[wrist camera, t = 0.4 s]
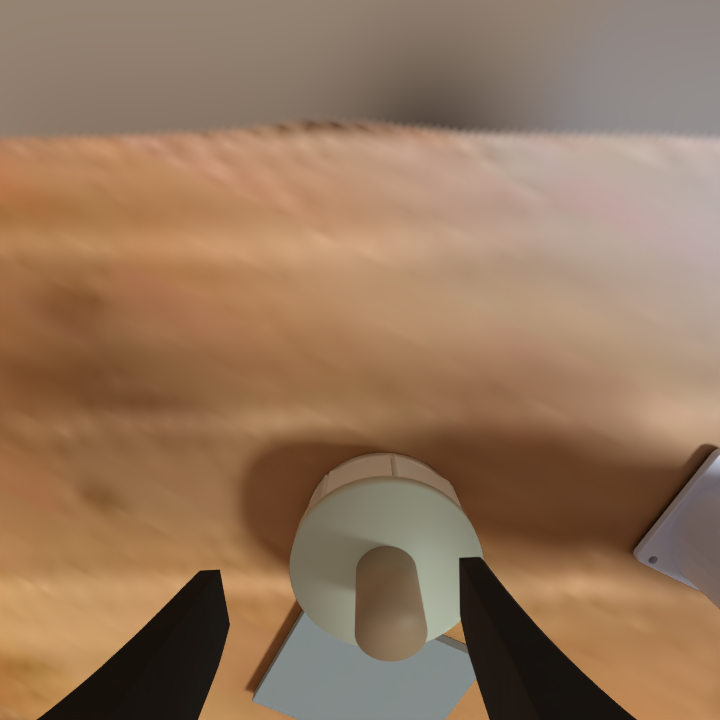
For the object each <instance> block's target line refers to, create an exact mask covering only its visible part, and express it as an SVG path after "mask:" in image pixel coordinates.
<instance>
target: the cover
mask: <svg viewBox="0 0 720 720" xmlns="http://www.w3.org/2000/svg"><path fill="white" fill-rule="evenodd" d="M463 557H481V558H482V559H483V560H484V558H483V553H482V548H481V545H480V542H479V540H478V537H477V535H476V532H475V530H474V528H473V525H472V524H471V522H470V520H469V518H468V516H467V515H466V514H465V512H464V511H463V510H462V508H461V507H460V506H459V505H458V504H457V503H456V502H455V501H454V500H453V499H452V498H450V497H449V496H448V495H446V494H445V493H443V492H442V491H440V490H438V489H437V488H435V487H433V486H431V485H429V484H426V483H424V482H421V481H418V480H414V479H410V478H405V477H398V476H375V477H367V478H363V479H358V480H355V481H352V482H349V483H346V484H344V485H342V486H340V487H338V488H336V489H334V490H332V491H331V492H329V493H328V494H326V495H325V496H323V497H322V498H321V499H320V500H319V501H318V502H317V503H315V504H314V505H313V507H312V508H311V509H310V510H309V511H308V512H307V514H306V515H305V517H304V518H303V520H302V522H301V523H300V526H299V528H298V530H297V532H296V536H295V539H294V543H293V547H292V551H291V555H290V563H289V571H290V580H291V586H292V589H293V591H294V594H295V597H296V599H297V601H298V603H299V605H300V606H301V608H302V609H303V610H304V612H305V613H306V615H307V616H308V617H309V618H310V619H311V620H312V621H313V622H314V623H315V624H316V625H317V626H319V627H320V628H321V629H322V630H324V631H325V632H327V633H328V634H330V635H332V636H333V637H335V638H337V639H339V640H342V641H344V642H347V643H350V644H352V645H356V646H359V647H360V649H361V650H362V651H363V652H364V653H366V654H367V655H369V656H370V657H372V658H374V659H377V660H381V661H387V662H394V661H401V660H404V659H407V658H409V657H411V656H413V655H415V654H416V653H417V652H418V651H419V650H420V649H421V648H422V647H423V645H424V644H425V642H428V641H430V640H432V639H435V638H437V637H438V636H440V635H442V634H444V633H445V632H447V631H448V630H449V629H451V628H452V627H454V626H455V625H456V624H457V623H458V622H459V621H460V620H461V618H460V593H459V558H463Z"/></svg>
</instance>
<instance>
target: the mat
mask: <svg viewBox="0 0 720 720" xmlns="http://www.w3.org/2000/svg"><path fill="white" fill-rule="evenodd" d="M475 679H476V676H475V673H474V670H473V666H472V663H471V660H470V657H469V653H468V649H467V645H465V644H463V643H460V642H458V641H456V640H453V639H451V638H449V637H447V636H444V635H440V636H438V637H437V638H435V639H432V640H430V641H428V642H425V644H424V645H423V647H422V648H421V649H420V650H419V651H418V652H417V653H416V654H415V655H413V656H411V657H409V658H407V659H404V660H401V661H394V662H387V661H381V660H377V659H374V658H372V657H370V656H369V655H367V654H366V653H364V652H363V651H362V650H361V649H360V647H359V646H356V645H352V644H350V643H347V642H344V641H342V640H339V639H337V638H335V637H333V636H332V635H330V634H328V633H327V632H325V631H324V630H322V629H321V628H320V627H319V626H317V625H316V624H315V623H314V622H313V621H312V620H311V619H310V618H309V617H308V616H307V615H306V613H305V612H304V610H302V611H301V613H300V615H299V616H298V618H297V620H296V622H295V623H294V625H293V627H292V628H291V630H290V632H289V634H288V635H287V637H286V639H285V640H284V642H283V644H282V645H281V647H280V649H279V651H278V652H277V654H276V656H275V657H274V659H273V661H272V662H271V664H270V666H269V668H268V669H267V671H266V673H265V674H264V676H263V678H262V679H261V681H260V683H259V685H258V686H257V688H256V690H255V691H254V695H253V699H252V702H255V703H258V704H260V705H263V706H265V707H268V708H270V709H273V710H275V711H278V712H281V713H283V714H286V715H288V716H291V717H293V718H296V719H298V720H445V719H446V718H447V716H448V715H449V714H450V712H451V711H452V710H453V708H454V707H455V706H456V704H457V703H458V702H459V700H460V699H461V698H462V696H463V695H464V694H465V693H466V691H467V690H468V689H469V687H470V686H471V685H472V683H473V682H474V681H475Z"/></svg>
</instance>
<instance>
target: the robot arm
mask: <svg viewBox="0 0 720 720" xmlns="http://www.w3.org/2000/svg"><path fill="white" fill-rule="evenodd" d="M633 555H634V557H635V558H636V559H637V560H638V561H639V562H641V563H643V564H645V565H647V566H649V567H651V568H653V569H655V570H657V571H659V572H661V573H663V574H665V575H667V576H669V577H671V578H674V579H676V580H678V581H680V582H682V583H684V584H686V585H688V586H690V587H692V588H694V589H696V590H698V591H700V592H702V593H703V594H704V595H705V596H706V597H707V598H708V599H709V600H710V601H711V602H713V603H714V604H715V605H716V606H717V607H718V608H719V609H720V449H716V450H714V451H713V452H712V453H711V454H710V456H709V457H708V458H707V459H706V461H705V462H704V463H703V464H702V466H701V467H700V468H699V469H698V471H697V472H696V473H695V474H694V476H693V477H692V478H691V479H690V481H689V482H688V483H687V484H686V486H685V487H684V488H683V489H682V491H681V492H680V493H679V494H678V496H677V497H676V498H675V499H674V501H673V502H672V503H671V504H670V506H669V507H668V508H667V509H666V511H665V512H664V513H663V514H662V516H661V517H660V518H659V519H658V521H657V522H656V523H655V524H654V526H653V527H652V528H651V529H650V531H649V532H648V533H647V534H646V536H645V537H644V538H643V539H642V541H641V542H640V543H639V544H638V546H637V547H636V548H635V550H634V552H633ZM650 557H651V558H650ZM459 593H460V618H461V622H462V627H463V631H464V636H465V640H466V645H467V649H468V653H469V657H470V660H471V663H472V666H473V670H474V673H475V676H476V679H477V682H478V685H479V688H480V691H481V694H482V697H483V701H484V704H485V707H486V710H487V713H488V716H489V719H490V720H636V719H635V718H634V717H633V716H632V715H630V714H629V713H628V712H627V711H625V710H624V709H623V708H622V707H621V706H619V705H618V704H617V703H616V702H615V701H614V700H613V699H612V698H610V697H609V696H608V695H607V694H606V693H605V692H604V691H603V690H601V689H600V688H599V687H598V686H597V685H596V684H595V683H594V682H593V681H592V680H591V679H589V678H588V677H587V676H586V675H585V674H584V673H583V672H582V671H581V670H580V669H579V668H578V667H577V666H576V665H575V664H574V663H573V662H572V661H571V660H570V659H569V658H568V657H567V656H566V655H565V654H564V653H563V652H562V651H561V650H560V649H559V648H558V647H557V646H556V645H555V644H554V643H553V642H552V641H551V640H550V639H549V638H548V637H547V636H546V635H545V634H544V633H543V631H542V630H541V629H540V628H539V627H538V626H537V625H536V624H535V623H534V622H533V620H532V619H531V618H530V617H529V616H528V615H527V614H526V612H525V611H524V610H523V609H522V608H521V607H520V606H519V604H518V603H517V602H516V601H515V600H514V598H513V597H512V596H511V595H510V594H509V592H508V591H507V590H506V589H505V587H504V586H503V585H502V584H501V582H500V581H499V580H498V579H497V577H496V576H495V575H494V573H493V572H492V571H491V570H490V568H489V567H488V566H487V564H486V563H485V561H484V560H483V559H482V558H481V557H463V558H459ZM229 626H230V623H229V617H228V612H227V607H226V601H225V596H224V590H223V585H222V579H221V574H220V570H203V571H199V572H198V573H197V574H196V575H195V576H194V577H193V578H192V579H191V580H190V581H189V582H188V583H187V584H186V585H185V586H184V587H183V588H182V589H181V590H180V591H179V592H178V593H177V594H176V595H175V596H174V597H173V598H172V599H171V600H170V601H169V602H168V603H167V604H166V605H165V606H164V607H163V608H162V609H161V610H160V611H159V612H158V613H157V614H156V615H155V616H154V617H153V618H152V619H151V620H150V621H149V622H148V623H147V624H146V625H145V626H144V627H143V628H142V629H141V630H140V631H139V632H138V633H137V634H136V635H135V636H134V637H133V638H132V639H131V640H130V641H129V642H127V643H126V644H125V645H124V646H123V647H122V648H121V649H120V650H119V651H118V652H117V653H116V654H114V655H113V656H112V657H111V658H110V659H109V660H108V661H107V662H106V663H105V664H104V665H103V666H102V667H100V668H99V669H98V670H97V671H96V672H95V673H94V674H92V675H91V676H90V677H89V678H88V679H87V680H85V681H84V682H83V683H82V684H81V685H80V686H78V687H77V688H76V689H75V690H74V691H72V692H71V693H70V694H69V695H67V696H66V697H65V698H64V699H63V700H61V701H60V702H59V703H58V704H56V705H55V706H54V707H53V708H51V709H50V710H49V711H48V712H46V713H45V714H44V715H42V716H41V717H40V718H38V719H37V720H198V718H199V715H200V713H201V710H202V708H203V705H204V703H205V700H206V697H207V695H208V692H209V690H210V687H211V684H212V682H213V679H214V677H215V674H216V671H217V669H218V666H219V663H220V659H221V656H222V652H223V649H224V645H225V642H226V638H227V634H228V630H229Z"/></svg>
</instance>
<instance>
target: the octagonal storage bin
mask: <svg viewBox="0 0 720 720" xmlns="http://www.w3.org/2000/svg"><path fill="white" fill-rule="evenodd" d="M375 476H398V477H405V478H410V479H414V480H418V481H421V482H424V483H426V484H429V485H431V486H433V487H435V488H437V489H438V490H440V491H442V492H443V493H445V494H446V495H448V496H449V497H450V498H452V499H453V500H454V501H455V502H456V503H457V504H458V505H459V506H460V507H461V505H460V502H459V500H458V498H457V495H456V493H455V490H454V488H453V486H452V485H450V483H449V481H448V480H446V479H444V478H442V477H441V476H440V475H439V474H438V473H437V472H436V471H435V470H434V469H432V468H431V467H430V466H428V465H426V464H425V463H423V462H421V461H419V460H417V459H414V458H412V457H409V456H405V455H401V454H395V453H370V454H365V455H361V456H358V457H355V458H352V459H349V460H347V461H345V462H343V463H341V464H340V465H338V466H337V467H335V468H334V469H332V470H331V471H330V472H329V473H328V474H327V475H325V477H324V478H323V479H322V480H321V481H320V482H319V484H318V485H317V487H316V489H315V490H314V492H313V494H312V496H311V499H310V502H309V505H308V508H307V509H306V511H305V513H304V515H303V517H302V518H301V520H300V522H299V526H300V523H301V522H302V520H303V518H304V517H305V515H306V514H307V512H308V511H309V510H310V509H311V508H312V507H313V505H314V504H315V503H317V502H318V501H319V500H320V499H321V498H322V497H323V496H325V495H326V494H328V493H329V492H331V491H332V490H334V489H336V488H338V487H340V486H342V485H344V484H346V483H349V482H352V481H355V480H358V479H363V478H367V477H375ZM461 508H462V507H461ZM299 526H298V528H299Z"/></svg>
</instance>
